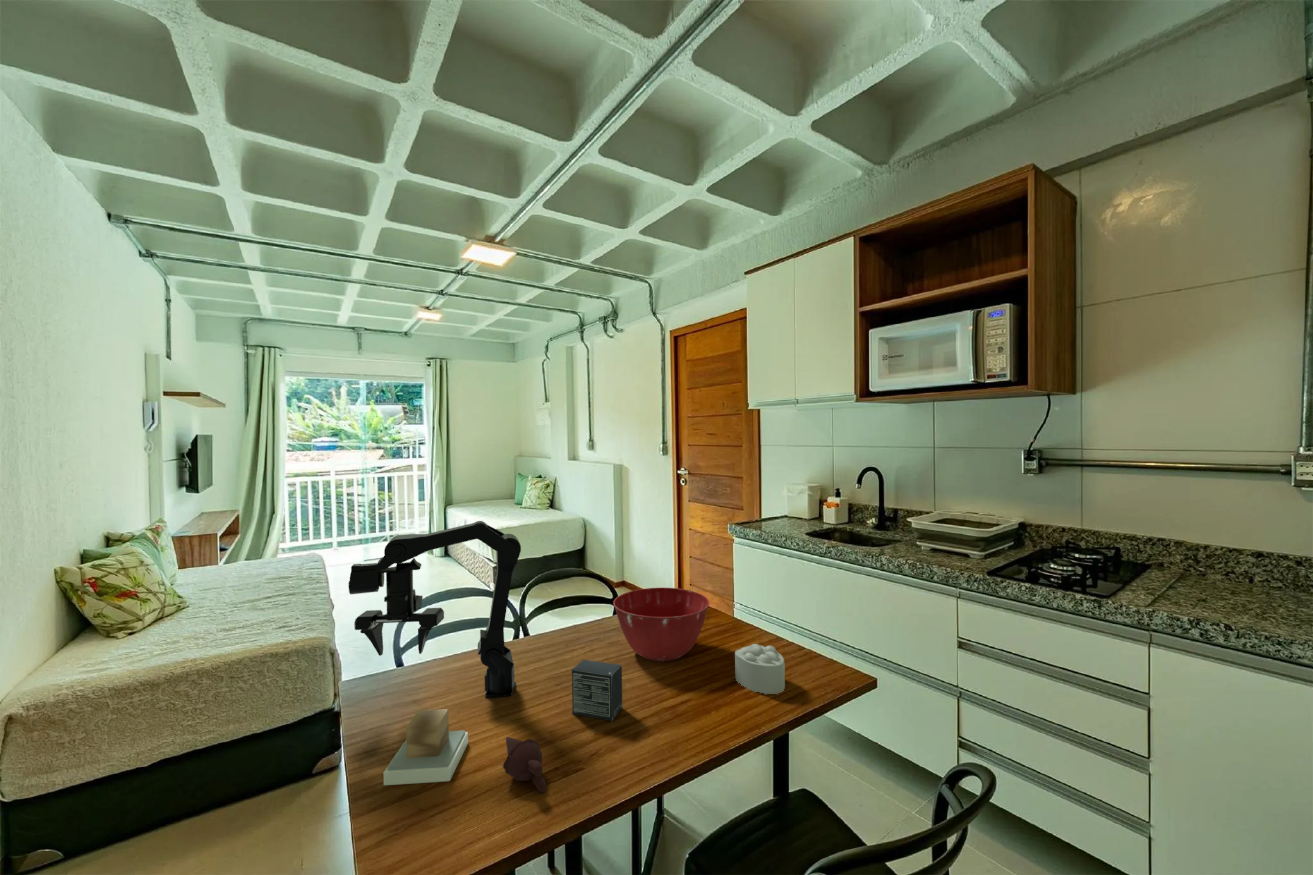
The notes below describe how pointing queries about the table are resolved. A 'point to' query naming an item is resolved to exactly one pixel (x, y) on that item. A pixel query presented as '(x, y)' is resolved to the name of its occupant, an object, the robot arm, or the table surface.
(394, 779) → the pedestal
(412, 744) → the oak cube
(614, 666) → the small box
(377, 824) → the table surface
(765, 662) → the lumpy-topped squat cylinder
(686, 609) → the mixing bowl
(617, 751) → the table surface
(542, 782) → the maroon toy figure
